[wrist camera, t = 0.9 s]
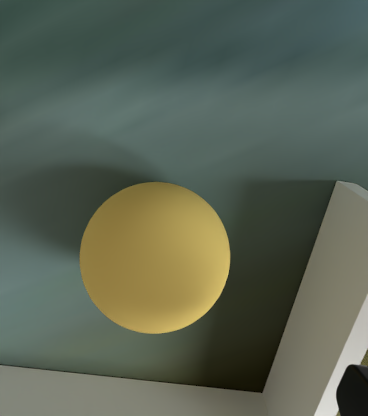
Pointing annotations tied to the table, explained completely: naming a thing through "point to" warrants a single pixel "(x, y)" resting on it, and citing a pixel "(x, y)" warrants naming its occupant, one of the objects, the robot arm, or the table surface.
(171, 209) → the ball
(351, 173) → the table surface
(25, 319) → the table surface
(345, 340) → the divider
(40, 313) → the table surface
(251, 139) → the table surface
